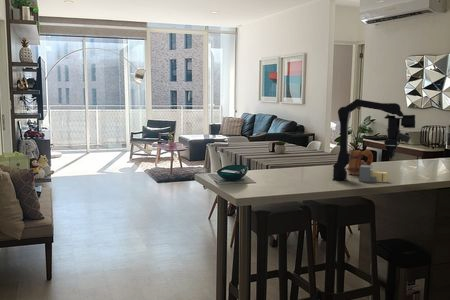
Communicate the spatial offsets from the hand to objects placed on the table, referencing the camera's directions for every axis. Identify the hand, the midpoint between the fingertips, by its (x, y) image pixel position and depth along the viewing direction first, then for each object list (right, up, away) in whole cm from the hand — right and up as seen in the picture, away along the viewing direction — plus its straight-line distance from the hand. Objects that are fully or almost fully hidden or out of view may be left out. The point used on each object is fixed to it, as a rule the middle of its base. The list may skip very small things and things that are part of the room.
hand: (391, 157), depth 230 cm
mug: (-9, -11, +28) cm, 31 cm away
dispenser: (-9, -13, +9) cm, 18 cm away
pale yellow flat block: (-6, -13, +8) cm, 16 cm away
